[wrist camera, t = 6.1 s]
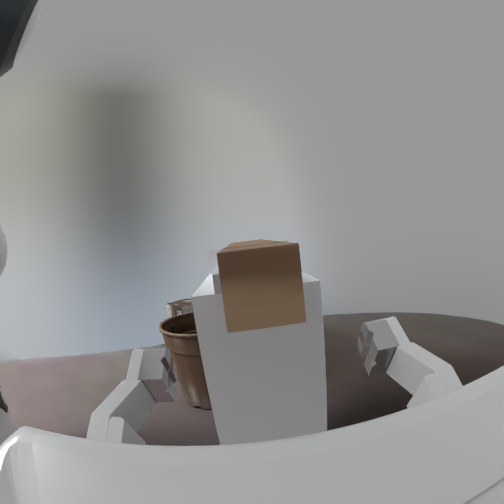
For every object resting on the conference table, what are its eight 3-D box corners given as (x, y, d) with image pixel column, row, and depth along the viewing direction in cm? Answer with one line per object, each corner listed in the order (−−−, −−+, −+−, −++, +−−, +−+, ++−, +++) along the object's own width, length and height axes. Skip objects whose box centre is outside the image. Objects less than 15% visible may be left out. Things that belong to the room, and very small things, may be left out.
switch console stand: (330, 497, 24) (322, 241, 23) (238, 510, 24) (185, 258, 23) (305, 428, 40) (289, 239, 38) (237, 438, 40) (207, 249, 38)
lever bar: (306, 322, 13) (298, 243, 13) (227, 332, 13) (216, 253, 13) (264, 268, 37) (260, 239, 37) (235, 271, 37) (231, 242, 37)
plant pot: (272, 396, 52) (262, 317, 51) (193, 426, 44) (172, 340, 43) (231, 370, 66) (221, 304, 65) (166, 390, 58) (150, 320, 57)
